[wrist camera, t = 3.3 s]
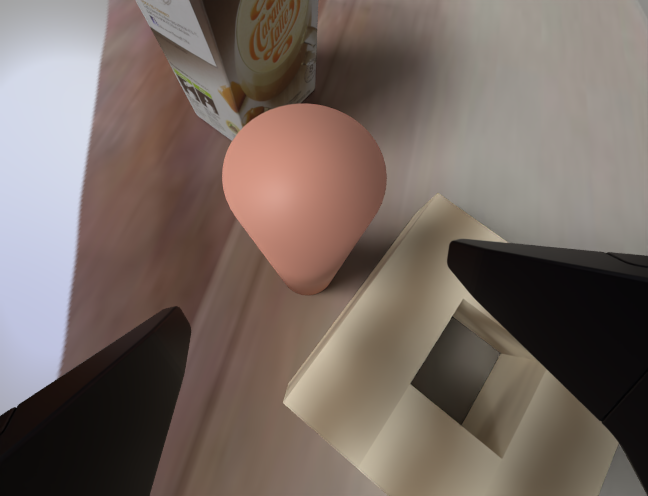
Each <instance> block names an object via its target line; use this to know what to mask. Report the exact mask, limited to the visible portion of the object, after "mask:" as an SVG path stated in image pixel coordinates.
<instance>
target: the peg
mask: <svg viewBox="0 0 648 496" xmlns="http://www.w3.org/2000/svg"><path fill="white" fill-rule="evenodd" d="M386 179H387V174H386V166H385V162H384V158H383V155H382V153H381V151H380V148H379V146H378V145H377V143H376V141H375V140H374V138H373V137H372V136H371V134H370V133H369V132H368V131H367V130H366V129H365V128H364V127H363V126H362V125H361V124H360V123H358V122H357V121H356V120H355V119H353V118H351V117H350V116H348V115H347V114H345V113H342V112H340V111H338V110H336V109H333V108H330V107H326V106H322V105H317V104H290V105H285V106H280V107H277V108H274V109H271V110H268V111H266V112H264V113H262V114H260V115H259V116H257V117H255V118H254V119H252V120H251V121H250V122H249V123H247V124H246V125H245V126H244V127H243V128H242V129H241V130H240V131H239V132H238V134H237V135H236V136H235V138H234V139H233V141H232V142H231V144H230V146H229V148H228V150H227V153H226V156H225V159H224V164H223V173H222V180H223V189H224V193H225V196H226V199H227V202H228V204H229V206H230V208H231V210H232V212H233V213H234V215H235V216H236V218H237V219H238V220H239V222H240V223H241V225H242V226H243V227H244V229H245V230H246V231H247V233H248V234H249V235H250V237H251V238H252V239H253V241H254V242H255V243H256V245H257V246H258V247H259V249H260V250H261V251H262V253H263V254H264V255H265V257H266V258H267V259H268V261H269V262H270V264H271V265H272V266H273V268H274V269H275V270H276V272H277V273H278V274H279V276H280V277H281V278H282V280H283V281H284V282H285V284H286V285H287V286H288V287H289V288H290V289H291V290H292V291H294V292H296V293H298V294H301V295H314V294H317V293H319V292H321V291H323V290H324V289H325V288H326V287H327V286H328V285H329V283H330V282H331V280H332V279H333V278H334V276H335V275H336V273H337V272H338V270H339V269H340V267H341V266H342V264H343V263H344V261H345V260H346V258H347V257H348V255H349V254H350V252H351V251H352V249H353V248H354V246H355V245H356V243H357V242H358V240H359V239H360V237H361V236H362V234H363V233H364V231H365V230H366V228H367V227H368V226H369V224H370V223H371V221H372V220H373V218H374V217H375V215H376V214H377V212H378V210H379V208H380V206H381V204H382V201H383V198H384V195H385V190H386Z"/></svg>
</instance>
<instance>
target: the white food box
mask: <svg viewBox="0 0 648 496" xmlns="http://www.w3.org/2000/svg"><path fill="white" fill-rule="evenodd" d="M136 2H137V4H138V6H139V8H140V9H141V11H142V13H143V15H144V17H145V19H146V20H147V22H148V24H149V26H150V28H151V30H152V32H153V33H154V35H155V37H156V39H157V41H158V43H159V45H160V47H161V48H162V50H163V52H164V54H165V56H166V58H167V60H168V62H169V64H170V66H171V67H172V69H173V71H174V73H175V75H176V77H177V79H178V81H179V82H180V84H181V86H182V88H183V90H184V92H185V94H186V96H187V97H188V99H189V101H190V103H191V105H192V107H193V109H194V110H195V112H196V114H197V115H198V116H199V117H200V118H201V119H203V120H204V121H206V122H207V123H208V124H210V125H211V126H212V127H214V128H215V129H217V130H218V131H219V132H221V133H222V134H223V135H225V136H226V137H228V138H229V139H230V140H232V141H233V139H234V138H235V136H236V135H237V134H238V132H239V131H240V130H241V129H242V128H243V127H244V126H245V125H246V124H247V123H249V122H250V121H251V120H252V119H254V118H255V117H257V116H259V115H260V114H262V113H264V112H266V111H268V110H271V109H274V108H277V107H280V106H285V105H290V104H300V103H301V102H302V101H303V100H304V99H305V98H306V97H307V96H308V95H309V94H310V93H311V92H312V91H313V90H314V89H315V75H316V46H317V22H318V0H136Z"/></svg>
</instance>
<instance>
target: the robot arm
mask: <svg viewBox="0 0 648 496" xmlns="http://www.w3.org/2000/svg"><path fill="white" fill-rule="evenodd" d="M447 265H448V267H449V269H450V270H451V271H452V273H453V274H454V275H455V276H456V277H457V279H458V280H459V281H460V282H461V284H462V285H463V286H464V287H465V288H466V290H467V291H468V292H469V293H470V294H471V295H472V297H473V298H474V299H475V300H476V301H477V302H478V303H479V304H480V305H481V306H482V307H483V308H484V309H485V310H486V311H487V312H488V313H489V314H490V315H491V316H492V317H493V318H495V319H496V320H497V321H498V322H499V323H500V324H501V325H502V326H503V327H504V328H505V329H506V330H507V331H508V332H509V333H510V334H511V335H512V336H513V337H514V338H515V339H516V340H517V341H518V342H519V343H520V344H521V345H522V346H523V347H524V348H525V349H526V350H527V351H528V352H529V353H530V354H531V355H532V356H533V357H534V358H535V359H536V360H538V361H539V362H540V363H541V364H542V365H543V366H544V367H545V368H546V369H547V370H548V371H549V372H550V373H551V374H552V375H553V376H554V377H555V378H556V379H557V380H558V381H559V382H560V383H561V384H562V385H563V386H564V387H565V388H566V389H567V390H568V391H569V392H570V393H571V394H572V395H573V396H574V397H575V398H576V399H577V400H578V401H579V402H580V403H582V404H583V405H584V406H585V407H586V408H587V409H588V410H589V411H590V412H591V413H592V414H593V415H594V416H595V417H596V418H597V419H598V420H599V421H602V424H603V425H604V426H605V427H606V428H607V429H608V430H609V431H610V433H611V434H612V435H613V436H614V437H615V439H616V440H617V441H618V443H619V444H620V446H621V447H622V449H623V450H624V452H625V454H626V456H627V458H628V460H629V462H630V463H631V465H632V467H633V469H634V471H635V473H636V475H637V477H638V479H639V481H640V482H641V484H642V486H643V488H644V490H645V492H646V494H647V496H648V256H644V255H633V254H622V253H612V252H607V253H604V252H596V251H586V250H576V249H566V248H555V247H545V246H535V245H524V244H514V243H504V242H493V241H483V240H473V239H457V240H453V241H451V242H450V244H449V249H448V256H447ZM190 337H191V327H190V324H189V322H188V320H187V319H186V317H185V315H184V313H183V312H182V310H181V309H180V308H179V307H177V306H175V307H170V308H166V309H163V310H162V311H160V312H159V313H157V314H156V315H154V316H153V317H151V318H149V319H148V320H146V321H145V322H143V323H142V324H140V325H139V326H137V327H136V328H134V329H133V330H131V331H130V332H128V333H127V334H125V335H124V336H122V337H121V338H119V339H118V340H116V341H114V342H113V343H111V344H110V345H108V346H107V347H105V348H104V349H102V350H101V351H99V352H98V353H96V354H95V355H93V356H92V357H90V358H89V359H87V360H86V361H84V362H83V363H81V364H79V365H78V366H76V367H75V368H73V369H72V370H70V371H69V372H67V373H66V374H64V375H63V376H61V377H60V378H58V379H57V380H55V381H54V382H52V383H51V384H49V385H48V386H46V387H44V388H43V389H41V390H40V391H38V392H37V393H35V394H34V395H32V396H31V397H29V398H28V399H26V400H25V401H23V402H22V403H20V404H19V405H18V406H17V408H16V407H14V408H12V409H10V410H8V411H7V412H5V413H4V414H2V415H1V416H0V496H150V492H151V489H152V485H153V482H154V478H155V475H156V471H157V468H158V464H159V461H160V457H161V454H162V450H163V447H164V444H165V440H166V437H167V433H168V430H169V426H170V423H171V419H172V416H173V412H174V409H175V405H176V402H177V398H178V395H179V391H180V388H181V384H182V381H183V377H184V373H185V368H186V362H187V355H188V349H189V343H190Z"/></svg>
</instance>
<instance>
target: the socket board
mask: <svg viewBox="0 0 648 496" xmlns="http://www.w3.org/2000/svg"><path fill="white" fill-rule="evenodd" d="M457 239H473V240H483V241H493V242H504V243H508V242H507V241H505V240H504V239H502V238H501V237H500V236H498V235H497V234H495V233H494V232H492V231H491V230H490V229H488V228H487V227H485V226H484V225H483V224H481V223H480V222H478V221H477V220H476V219H474V218H473V217H471V216H470V215H468V214H467V213H466V212H464V211H463V210H461V209H460V208H459V207H457V206H456V205H454V204H453V203H451V202H450V201H449V200H447V199H446V198H444V197H443V196H442V195H440V194H439V193H437V194H436V195H435V196H434V197H433V198H432V199H431V200H430V201H428V202H427V203H426V204H425V205H424V206H423V207H422V208H421V209H420V210H419V211H418V212H417V213H416V214H415V215H414V216H413V217H412V219H411V220H410V221H409V223H408V224H407V225H406V227H405V228H404V229H403V231H402V232H401V233H400V235H399V236H398V238H397V239H396V240H395V242H394V243H393V244H392V246H391V247H390V248H389V250H388V251H387V252H386V254H385V255H384V256H383V258H382V259H381V260H380V262H379V263H378V264H377V266H376V267H375V268H374V270H373V271H372V272H371V274H370V275H369V276H368V278H367V279H366V280H365V282H364V283H363V284H362V286H361V287H360V288H359V290H358V291H357V292H356V294H355V295H354V297H353V298H352V299H351V301H350V302H349V303H348V305H347V306H346V307H345V309H344V310H343V311H342V313H341V314H340V315H339V317H338V318H337V319H336V321H335V322H334V323H333V325H332V326H331V327H330V329H329V330H328V331H327V333H326V334H325V335H324V337H323V338H322V339H321V341H320V342H319V343H318V345H317V346H316V347H315V349H314V350H313V351H312V353H311V354H310V356H309V357H308V358H307V360H306V361H305V362H304V364H303V365H302V366H301V368H300V369H299V370H298V372H297V373H296V374H295V376H294V377H293V378H292V380H291V381H290V382H289V384H288V387H287V390H286V394H285V397H284V401H283V403H284V404H285V405H286V406H287V407H288V408H289V409H290V410H292V411H293V412H294V413H295V414H296V415H297V416H298V417H300V418H301V419H302V420H303V421H304V422H305V423H306V424H307V425H309V426H310V427H311V428H312V429H313V430H314V431H315V432H317V433H318V434H319V435H320V436H321V437H322V438H323V439H324V440H326V441H327V442H328V443H329V444H330V445H331V446H332V447H334V448H335V449H336V450H337V451H338V452H339V453H340V454H341V455H343V456H344V457H345V458H346V459H347V460H348V461H349V462H351V463H352V464H353V465H354V466H355V467H356V468H357V469H359V470H360V471H361V472H362V473H363V474H364V475H365V476H366V477H368V478H369V479H370V480H371V481H372V482H373V483H374V484H376V485H377V486H378V487H379V488H380V489H381V490H382V491H383V492H385V493H386V494H387V495H388V496H598V495H599V493H600V490H601V487H602V485H603V482H604V480H605V477H606V475H607V472H608V469H609V467H610V464H611V462H612V459H613V457H614V454H615V452H616V449H617V446H618V444H619V443H618V441H617V440H616V439H615V437H614V436H613V435H612V434H611V433H610V431H609V430H608V429H607V428H606V427H605V426H604V425H603V424H602V421H599V420H598V419H597V418H596V417H595V416H594V415H593V414H592V413H591V412H590V411H589V410H588V409H587V408H586V407H585V406H584V405H583V404H582V403H580V402H579V401H578V400H577V399H576V398H575V397H574V396H573V395H572V394H571V393H570V392H569V391H568V390H567V389H566V388H565V387H564V386H563V385H562V384H561V383H560V382H559V381H558V380H557V379H556V378H555V377H554V376H553V375H552V374H551V373H550V372H549V371H548V370H547V369H546V368H545V367H544V366H543V365H542V364H541V363H540V362H539V361H538V360H536V359H535V358H534V357H533V356H532V355H531V354H530V353H529V352H528V351H527V350H526V349H525V348H524V347H523V346H522V345H521V344H520V343H519V342H518V341H517V340H516V339H515V338H514V337H513V336H512V335H511V334H510V333H509V332H508V331H507V330H506V329H505V328H504V327H503V326H502V325H501V324H500V323H499V322H498V321H497V320H496V319H495V318H493V317H492V316H491V315H490V314H489V313H488V312H487V311H486V310H485V309H484V308H483V307H482V306H481V305H480V304H479V303H478V302H477V301H476V300H475V299H474V298H473V297H472V295H471V294H470V293H469V292H468V291H467V290H466V288H465V287H464V286H463V285H462V284H461V282H460V281H459V280H458V279H457V277H456V276H455V275H454V274H453V273H452V271H451V270H450V269H449V267H448V265H447V256H448V249H449V244H450V242H451V241H453V240H457ZM452 316H453V317H454V318H455V319H457V320H458V321H459V322H460V323H462V324H463V325H464V326H466V327H467V328H468V329H470V330H471V331H472V332H474V333H475V334H476V335H478V336H479V337H480V338H481V339H483V340H484V341H485V342H487V343H488V344H489V345H491V346H492V347H493V348H495V349H496V350H497V351H498V352H500V353H501V354H500V356H499V358H498V360H497V362H496V363H495V365H494V367H493V369H492V371H491V372H490V374H489V376H488V378H487V380H486V382H485V383H484V385H483V387H482V389H481V391H480V393H479V394H478V396H477V398H476V400H475V402H474V403H473V405H472V407H471V409H470V411H469V413H468V414H467V416H466V418H465V420H464V422H463V423H462V425H460V424H459V423H457V422H456V421H455V420H454V419H452V418H451V417H450V416H449V415H448V414H446V413H445V412H444V411H443V410H441V409H440V408H439V407H438V406H437V405H435V404H434V403H433V402H432V401H430V400H429V399H428V398H427V397H425V396H424V395H423V394H422V393H421V392H419V391H418V390H417V389H416V388H414V387H413V386H412V385H411V384H410V383H411V382H412V380H413V378H414V377H415V375H416V374H417V372H418V370H419V369H420V367H421V366H422V364H423V362H424V361H425V359H426V357H427V356H428V354H429V353H430V351H431V349H432V348H433V346H434V345H435V343H436V341H437V340H438V338H439V337H440V335H441V333H442V332H443V330H444V329H445V327H446V325H447V324H448V322H449V321H450V319H451V317H452Z"/></svg>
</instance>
